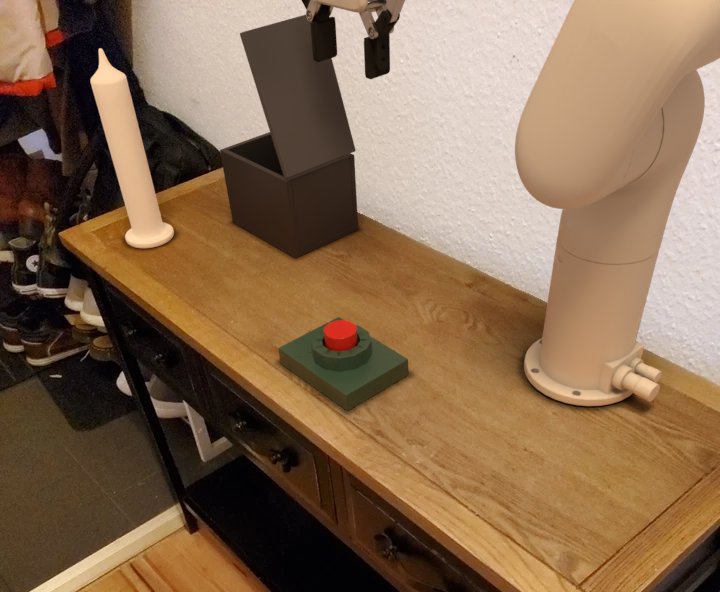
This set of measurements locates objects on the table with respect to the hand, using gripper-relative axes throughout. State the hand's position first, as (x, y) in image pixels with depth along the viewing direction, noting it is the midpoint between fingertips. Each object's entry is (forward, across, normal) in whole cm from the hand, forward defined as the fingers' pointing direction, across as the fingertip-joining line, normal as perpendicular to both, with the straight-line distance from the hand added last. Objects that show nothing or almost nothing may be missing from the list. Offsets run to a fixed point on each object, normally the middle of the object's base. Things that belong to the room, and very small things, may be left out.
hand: (350, 66), depth 84 cm
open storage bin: (+24, +15, 0) cm, 29 cm away
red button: (+21, -17, +17) cm, 32 cm away
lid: (+5, +10, 0) cm, 12 cm away
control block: (+24, -17, +18) cm, 34 cm away
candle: (+25, +28, +17) cm, 41 cm away
